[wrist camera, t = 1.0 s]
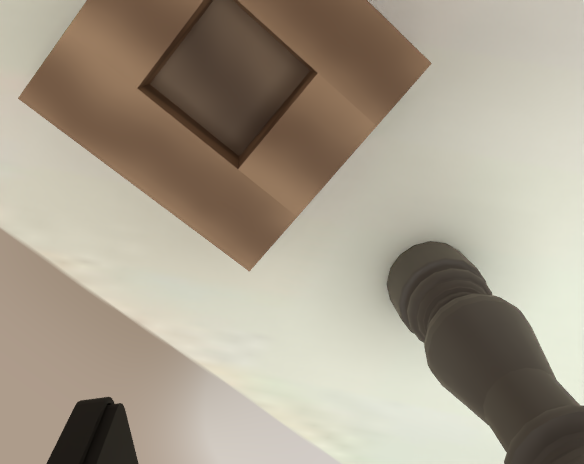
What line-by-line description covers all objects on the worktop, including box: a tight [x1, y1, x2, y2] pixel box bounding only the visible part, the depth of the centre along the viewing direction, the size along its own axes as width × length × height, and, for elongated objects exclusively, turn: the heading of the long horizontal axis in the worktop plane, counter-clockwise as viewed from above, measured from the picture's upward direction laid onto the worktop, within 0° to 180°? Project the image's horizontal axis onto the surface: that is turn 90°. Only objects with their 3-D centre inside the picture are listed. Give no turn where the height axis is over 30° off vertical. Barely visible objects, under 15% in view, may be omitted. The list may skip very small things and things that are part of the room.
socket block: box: [18, 0, 431, 271], centre depth 32 cm, size 16×16×5 cm
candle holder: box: [387, 242, 584, 464], centre depth 29 cm, size 6×6×25 cm
